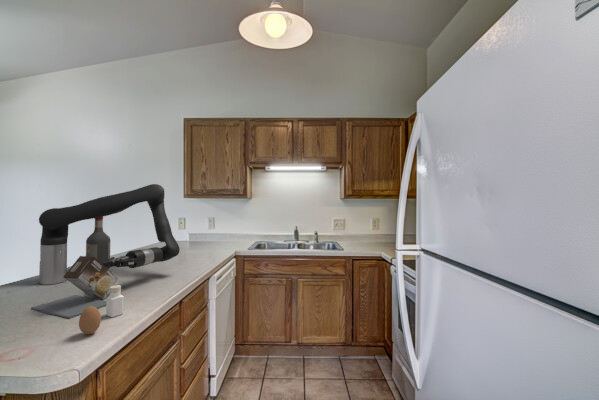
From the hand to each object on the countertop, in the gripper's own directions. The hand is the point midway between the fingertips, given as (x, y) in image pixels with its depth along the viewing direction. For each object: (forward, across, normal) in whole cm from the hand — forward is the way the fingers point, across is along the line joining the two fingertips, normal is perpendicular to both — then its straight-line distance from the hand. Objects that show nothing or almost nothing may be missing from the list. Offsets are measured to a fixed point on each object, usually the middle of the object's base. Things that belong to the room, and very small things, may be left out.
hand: (101, 265), depth 112 cm
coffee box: (-2, 0, +9) cm, 10 cm away
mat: (+10, 0, +12) cm, 16 cm away
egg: (+21, +26, +13) cm, 36 cm away
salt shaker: (+9, +20, +13) cm, 25 cm away
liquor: (-27, -41, +12) cm, 51 cm away
